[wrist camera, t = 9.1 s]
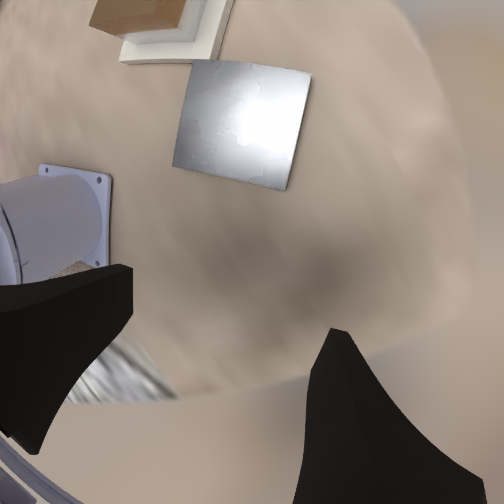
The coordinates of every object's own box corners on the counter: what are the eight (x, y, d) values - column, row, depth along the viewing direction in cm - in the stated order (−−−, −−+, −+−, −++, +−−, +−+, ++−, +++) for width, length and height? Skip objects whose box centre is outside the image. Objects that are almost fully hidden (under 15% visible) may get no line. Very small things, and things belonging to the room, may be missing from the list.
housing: (135, 45, 14) (88, 25, 9) (153, -6, 12) (113, -34, 8) (194, 42, 13) (154, 12, 9) (211, -12, 12) (180, -50, 7)
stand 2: (180, 165, 17) (172, 166, 16) (201, 63, 15) (193, 58, 14) (286, 188, 17) (284, 191, 16) (311, 79, 14) (311, 73, 13)
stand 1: (127, 64, 16) (118, 61, 14) (152, -11, 13) (144, -17, 12) (215, 64, 15) (209, 59, 14) (239, -18, 12) (235, -26, 11)
